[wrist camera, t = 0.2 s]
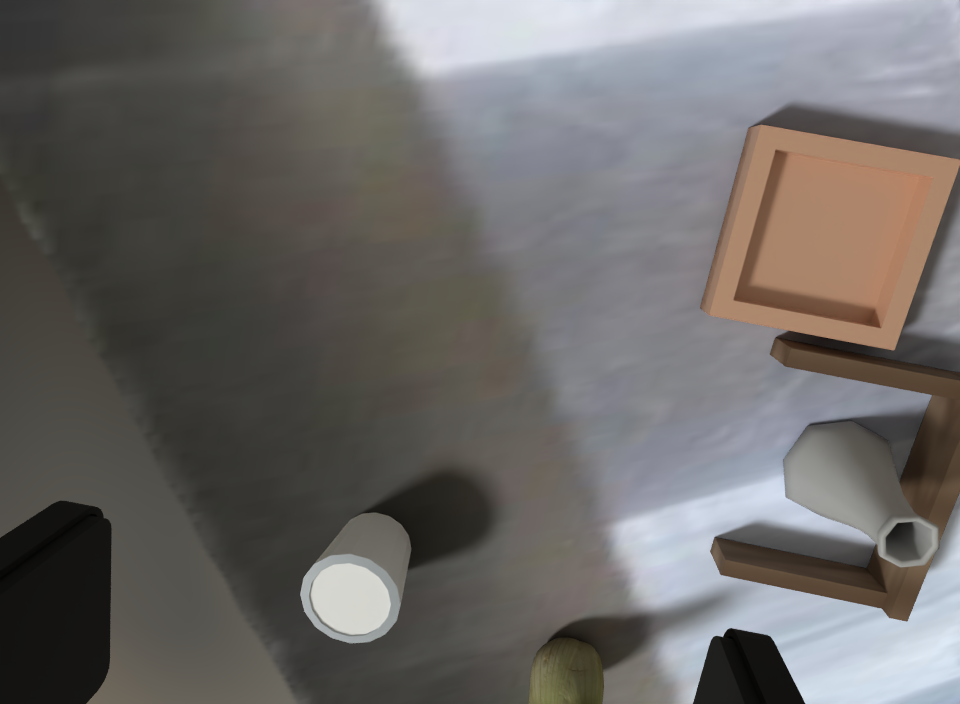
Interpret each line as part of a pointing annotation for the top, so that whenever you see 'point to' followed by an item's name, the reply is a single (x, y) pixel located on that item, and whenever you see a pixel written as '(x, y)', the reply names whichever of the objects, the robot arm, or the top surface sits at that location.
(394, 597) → the white tapered cylinder
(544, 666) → the fennel bulb
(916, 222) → the tray
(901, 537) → the flask
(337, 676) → the top surface
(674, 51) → the top surface
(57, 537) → the robot arm
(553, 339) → the top surface
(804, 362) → the bay
